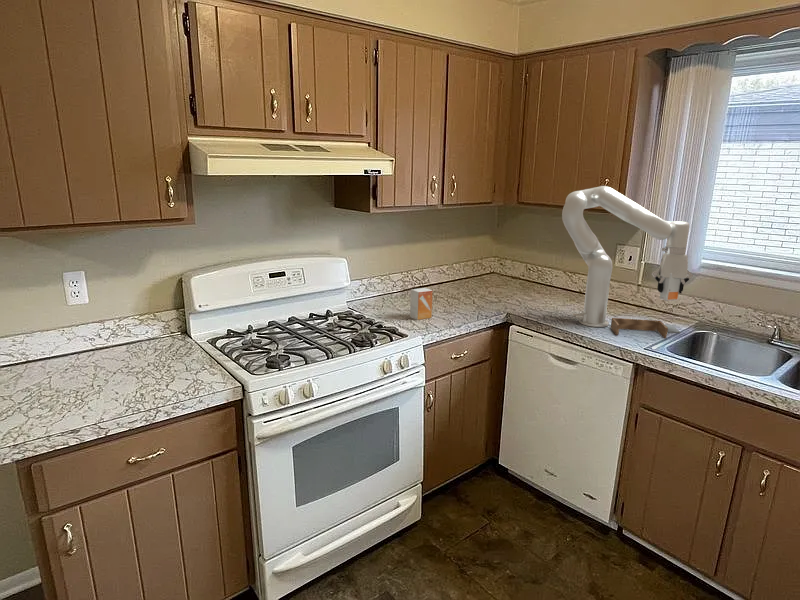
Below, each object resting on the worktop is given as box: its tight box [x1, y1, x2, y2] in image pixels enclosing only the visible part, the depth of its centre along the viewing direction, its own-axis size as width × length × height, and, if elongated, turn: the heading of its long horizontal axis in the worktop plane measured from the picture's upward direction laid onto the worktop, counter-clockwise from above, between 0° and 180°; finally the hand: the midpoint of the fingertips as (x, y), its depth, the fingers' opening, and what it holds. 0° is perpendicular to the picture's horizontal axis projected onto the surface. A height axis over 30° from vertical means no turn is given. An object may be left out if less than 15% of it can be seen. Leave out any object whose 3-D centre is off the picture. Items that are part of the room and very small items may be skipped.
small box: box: [409, 287, 434, 321], centre depth 237 cm, size 8×6×13 cm
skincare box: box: [659, 273, 681, 301], centre depth 222 cm, size 6×4×12 cm
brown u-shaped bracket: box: [610, 317, 668, 339], centre depth 220 cm, size 20×11×4 cm, turn 80°
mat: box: [654, 324, 681, 334], centre depth 227 cm, size 10×10×1 cm
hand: (669, 292), depth 223 cm, fingers closed on skincare box, 7 cm apart
